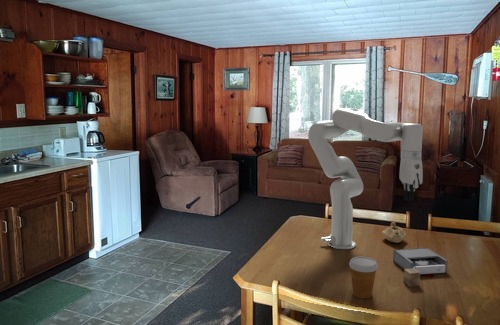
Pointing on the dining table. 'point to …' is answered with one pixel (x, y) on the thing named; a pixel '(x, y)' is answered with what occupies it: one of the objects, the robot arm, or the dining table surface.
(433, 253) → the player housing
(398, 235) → the oil lamp
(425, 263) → the silver disc
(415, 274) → the walnut block
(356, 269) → the disposable coffee cup
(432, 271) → the tray
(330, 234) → the robot arm
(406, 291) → the dining table surface
